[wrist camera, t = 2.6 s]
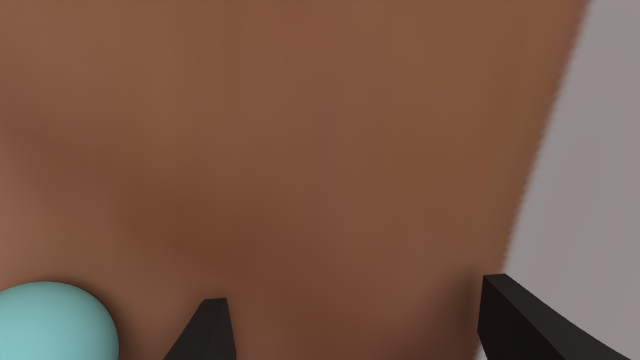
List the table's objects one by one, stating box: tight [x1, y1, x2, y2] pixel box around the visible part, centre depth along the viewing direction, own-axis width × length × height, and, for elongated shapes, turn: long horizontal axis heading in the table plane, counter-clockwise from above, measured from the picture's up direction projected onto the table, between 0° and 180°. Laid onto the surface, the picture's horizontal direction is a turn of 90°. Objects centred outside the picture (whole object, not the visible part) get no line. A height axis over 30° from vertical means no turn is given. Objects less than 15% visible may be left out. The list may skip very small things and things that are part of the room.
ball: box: [0, 281, 119, 360], centre depth 13 cm, size 4×4×4 cm
